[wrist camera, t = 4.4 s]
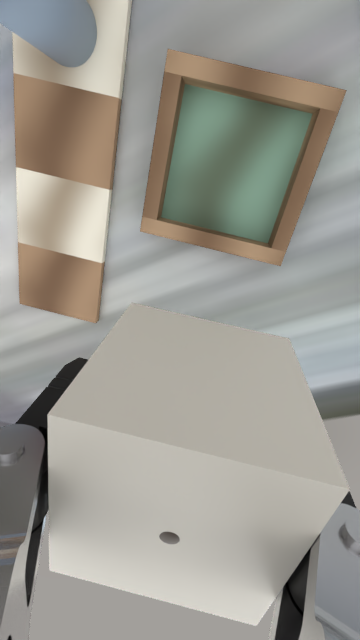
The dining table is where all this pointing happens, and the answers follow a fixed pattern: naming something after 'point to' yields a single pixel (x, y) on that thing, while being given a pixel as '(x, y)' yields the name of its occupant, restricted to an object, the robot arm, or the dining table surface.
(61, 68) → the board
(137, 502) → the die
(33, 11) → the pale blue capsule
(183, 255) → the dining table surface
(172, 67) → the tray
